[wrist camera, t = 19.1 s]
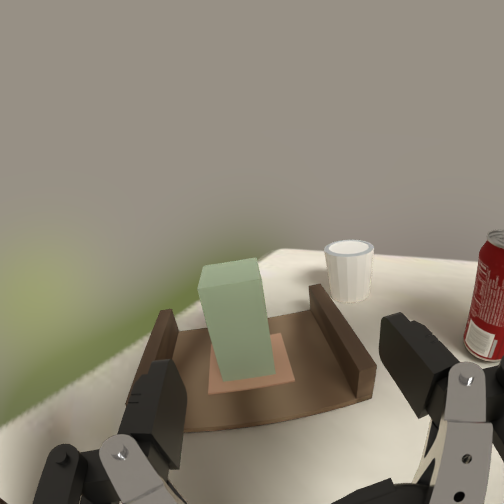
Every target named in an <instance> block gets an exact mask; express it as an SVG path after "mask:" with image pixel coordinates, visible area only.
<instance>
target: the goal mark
mask: <svg viewBox="0 0 504 504" xmlns="http://www.w3.org/2000/svg"><path fill="white" fill-rule="evenodd" d="M270 339H271V345H272V352H273V359H274V365H275V372H276V374H273V375H267V376H261V377H255V378H248V379H241V380H233V381H225V382H223V379H222V376H221V373H220V369H219V366H218V363H217V359H216V356H215V352H214V349H213V345H212V344H211V354H210V369H209V385H208V394H209V395H210V394H219V393H228V392H235V391H242V390H249V389H256V388H262V387H268V386H273V385H279V384H284V383H289V382H294V381H295V378H294V375H293V372H292V368H291V365H290V362H289V358H288V355H287V352H286V348H285V345H284V342H283V338H282V335H281V333H277V334H272V335H270Z"/></svg>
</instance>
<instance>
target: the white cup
mask: <svg viewBox="0 0 504 504" xmlns="http://www.w3.org/2000/svg"><path fill="white" fill-rule="evenodd" d="M324 252H325V258H326V264H327V271H328V277H329V284H330V291H331V297H332V298H333V299H334V300H336V301H339V302H342V303H356V302H360V301H363V300H364V299H366V298H367V297H368V295H369V292H370V284H371V275H372V265H373V254H374V247H373V245H372V244H371V243H369V242H367V241H362V240H341V241H337V242H333V243H330V244H328V245H327V246H326V247H325V248H324Z"/></svg>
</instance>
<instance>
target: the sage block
mask: <svg viewBox="0 0 504 504" xmlns="http://www.w3.org/2000/svg"><path fill="white" fill-rule="evenodd" d="M198 293H199V297H200V301H201V305H202V309H203V312H204V316H205V320H206V324H207V327H208V331H209V335H210V338H211V342H212V345H213V349H214V352H215V356H216V359H217V363H218V366H219V369H220V373H221V376H222V379H223V382H225V381H233V380H241V379H248V378H255V377H261V376H267V375H273V374H276V372H275V365H274V359H273V352H272V345H271V339H270V332H269V325H268V319H267V312H266V306H265V299H264V292H263V286H262V279H261V275H260V271H259V267H258V263H257V258H251V259H244V260H238V261H232V262H226V263H220V264H213V265H207V266H204V267H203V269H202V273H201V277H200V281H199V285H198Z"/></svg>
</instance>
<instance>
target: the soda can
mask: <svg viewBox="0 0 504 504" xmlns="http://www.w3.org/2000/svg"><path fill="white" fill-rule="evenodd" d="M463 341H464V344H465V347H466V348H467V350H468V351H469V352H470V353H471V354H473V355H474V356H475V357H477V358H479V359H482V360H485V361H491V362H496V361H501V359H502V357H503V355H504V230H493V231H490V232H488V233H487V241H486V243H485V244H484V245H483V247H482V248H481V250H480V252H479V260H478V267H477V274H476V281H475V287H474V292H473V297H472V302H471V307H470V312H469V316H468V320H467V324H466V328H465V332H464V336H463Z"/></svg>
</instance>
